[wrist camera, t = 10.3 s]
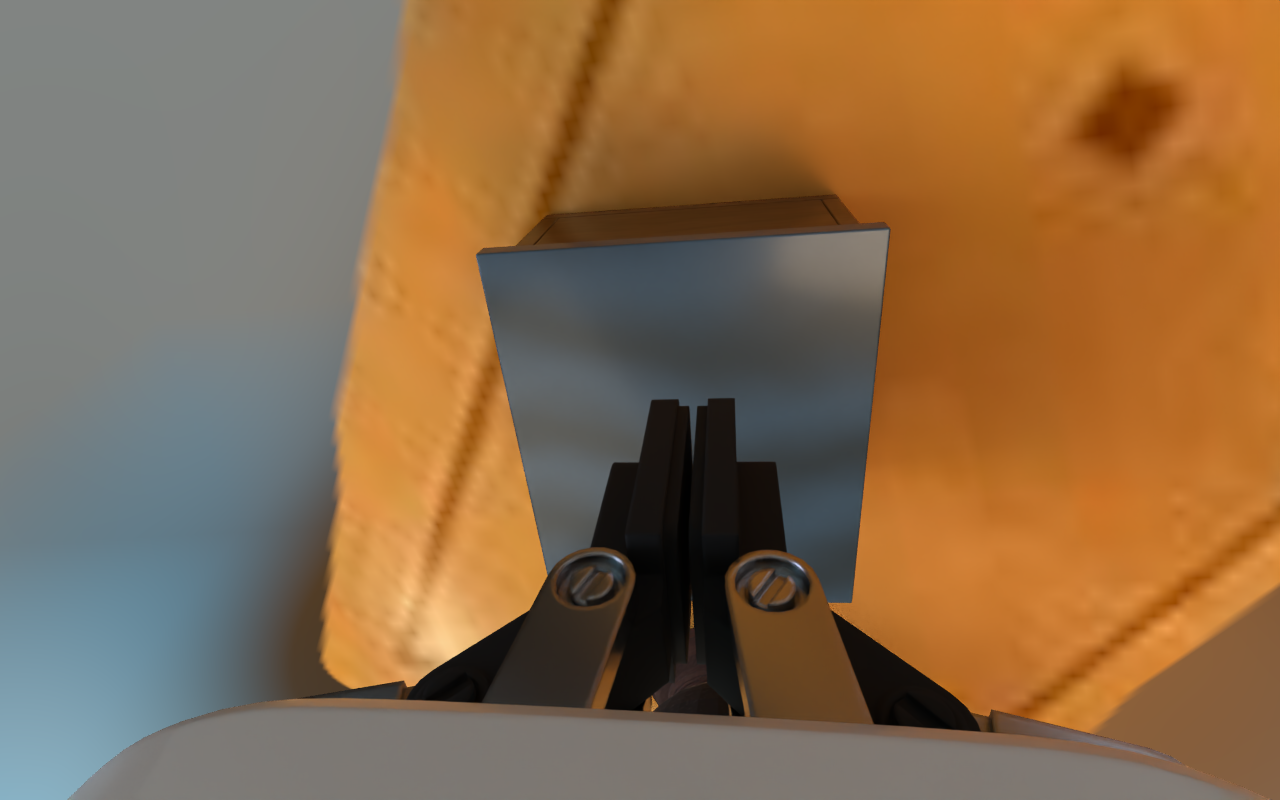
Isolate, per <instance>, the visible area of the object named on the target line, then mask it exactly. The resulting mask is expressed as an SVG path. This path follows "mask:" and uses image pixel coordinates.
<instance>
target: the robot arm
mask: <svg viewBox="0 0 1280 800" xmlns="http://www.w3.org/2000/svg"><path fill="white" fill-rule="evenodd" d="M691 599H692V602H693V616H694V631H695V645H696V660H697V664H703V665H706V671H707V684H708V685H709V686H710V687H712V688H713V689H714V690H715V691H716V692H717V693H718V694H719V695H720V696H721V697H722V698H723V699H724V700H725V701H726V702H727V703H728V704H729V716H719V715H701V714H683V713H664V712H651V705H652V697H651V696H652V695H653V694H654V693H655V692H657V691H658V690H659V689H661V688H662V687H663V686H664V685H666V684H667V683H675V677H676V664H677V663H679V664H687V663H688V651H689V634H690V616H691ZM68 800H1271V799H1269V798H1266V797H1264V796H1262V795H1260V794H1257V793H1255V792H1253V791H1251V790H1249V789H1246V788H1244V787H1242V786H1239V785H1236V784H1234V783H1231V782H1228V781H1226V780H1223V779H1220V778H1217V777H1214V776H1212V775H1209V774H1206V773H1204V772H1201V771H1198V770H1196V769H1193V768H1190V767H1187V766H1185V765H1184V764H1182V763H1181V762H1179V761H1177V760H1176V759H1174V758H1173V757H1171V756H1169V755H1166V754H1163V753H1160V752H1158V751H1155V750H1153V749H1150V748H1147V747H1143V746H1139V745H1135V744H1131V743H1126V742H1123V741H1119V740H1115V739H1110V738H1106V737H1102V736H1098V735H1094V734H1090V733H1086V732H1082V731H1078V730H1074V729H1069V728H1065V727H1061V726H1057V725H1053V724H1049V723H1045V722H1041V721H1037V720H1033V719H1028V718H1024V717H1020V716H1016V715H1012V714H1008V713H1004V712H1000V711H996V710H992V709H991V712H990V715H989V717H987V716H983V715H979V714H975V713H971V712H970V711H969V710H968V708H967V707H966V706H965V705H964V704H962V703H961V702H960V701H959V700H958V699H957V698H956V697H954V696H953V695H952V694H951V693H949V692H948V691H946V690H945V689H944V688H942V687H941V686H939V685H938V684H936V683H935V682H934V681H932V680H931V679H929V678H928V677H926V676H925V675H923V674H922V673H921V672H919V671H918V670H916V669H915V668H913V667H912V666H911V665H909V664H908V663H906V662H905V661H903V660H902V659H901V658H899V657H898V656H896V655H895V654H893V653H892V652H890V651H889V650H888V649H886V648H885V647H883V646H882V645H880V644H879V643H878V642H876V641H875V640H873V639H872V638H870V637H869V636H867V635H866V634H865V633H863V632H862V631H860V630H859V629H857V628H856V627H855V626H853V625H852V624H850V623H849V622H847V621H846V620H844V619H843V618H842V617H840V616H839V615H837V614H836V613H834V612H833V611H832V610H830V607H829V604H828V602H827V599H826V596H825V594H824V591H823V588H822V586H821V583H820V581H819V578H818V577H817V575H816V573H815V572H814V570H813V568H812V567H810V566H809V565H808V564H807V563H806V562H805V561H804V560H802V559H800V558H798V557H796V556H794V555H792V554H790V553H787V548H786V540H785V532H784V523H783V515H782V507H781V499H780V491H779V482H778V474H777V466H776V462H737V455H736V421H735V398H708V405H707V406H697V416H696V430H695V444H694V458H693V457H692V440H691V423H690V409H689V406H680V404H679V399H657V400H651V404H650V409H649V414H648V419H647V424H646V429H645V434H644V439H643V444H642V449H641V454H640V459H639V462H614V463H613V464H612V467H611V470H610V474H609V478H608V481H607V485H606V489H605V493H604V497H603V501H602V504H601V508H600V512H599V516H598V520H597V524H596V527H595V531H594V535H593V539H592V543H591V547H590V548H586V549H582V550H578V551H576V552H573V553H571V554H569V555H567V556H565V557H564V558H563V559H561V560H560V561H559V562H558V563H556V565H555V566H554V567H553V569H552V570H551V571H550V573H549V574H548V576H547V578H546V580H545V582H544V584H543V586H542V588H541V590H540V592H539V594H538V595H537V597H536V599H535V601H534V603H533V605H532V607H531V609H530V610H529V611H527V612H526V613H524V614H523V615H521V616H519V617H518V618H516V619H515V620H513V621H511V622H510V623H508V624H507V625H505V626H503V627H502V628H500V629H498V630H497V631H495V632H494V633H492V634H490V635H489V636H487V637H486V638H484V639H482V640H481V641H479V642H478V643H476V644H474V645H473V646H471V647H469V648H468V649H466V650H465V651H463V652H461V653H460V654H458V655H457V656H455V657H453V658H452V659H450V660H448V661H447V662H445V663H444V664H442V665H440V666H439V667H437V668H436V669H434V670H433V671H431V672H430V673H429V674H427V675H426V676H425V677H424V678H422V679H421V680H420V681H419V682H418V683H417V684H416V686H413V687H407V686H406V684H405V682H404V681H399V682H393V683H387V684H381V685H375V686H369V687H363V688H357V689H351V690H345V691H339V692H333V693H328V694H322V695H315V696H310V697H304V698H298V699H291V700H280V701H267V702H259V703H253V704H248V705H243V706H238V707H233V708H228V709H222V710H218V711H216V712H212V713H208V714H205V715H202V716H198V717H195V718H191V719H188V720H185V721H182V722H179V723H177V724H174V725H172V726H169V727H167V728H164V729H162V730H160V731H158V732H155V733H153V734H151V735H149V736H147V737H145V738H143V739H141V740H139V741H138V742H136V743H134V744H133V745H131V746H129V747H128V748H126V749H125V750H123V751H122V752H120V753H119V754H118V755H117V756H115V757H114V758H113V759H111V760H110V761H109V762H108V763H106V764H105V765H104V766H103V767H102V768H100V769H99V770H98V771H97V772H96V773H95V774H94V775H93V776H92V777H91V778H89V779H88V780H87V781H86V782H85V783H84V784H83V785H82V786H81V787H80V788H79V789H78V790H77V791H76V792H75V793H74V794H73V795H72V796H71V797H70V798H69V799H68Z"/></svg>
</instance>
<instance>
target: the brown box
mask: <svg viewBox="0 0 1280 800" xmlns="http://www.w3.org/2000/svg"><path fill="white" fill-rule="evenodd" d="M847 224H860V223H859V222H858V221H857V220H856V219H855V217H854V216H853V215H852V214H851V212H850V211H849V210H848V209H847V208H846V206H845V205H844V204H843V203H842V202H841V200H840V199H839V197H838V196H837V195H822V196H808V197H794V198H780V199H766V200H752V201H738V202H724V203H710V204H696V205H682V206H668V207H654V208H640V209H626V210H612V211H598V212H585V213H571V214H557V215H547V216H545V217H544V218H543V219H542V220H541V221H540V222H539V223H538V224H537V225H536V226H535V227H534V228H533V229H532V230H531V231H530V232H529V233H528V234H527V235H526V236H525V237H524V238H523V239H522V240H521V241H520V242H519V243H518V244H517V245H516V246H524V245H540V244H555V243H570V242H586V241H601V240H617V239H632V238H647V237H663V236H678V235H693V234H709V233H724V232H739V231H755V230H770V229H785V228H801V227H816V226H832V225H847Z"/></svg>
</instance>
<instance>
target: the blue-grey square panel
mask: <svg viewBox="0 0 1280 800" xmlns="http://www.w3.org/2000/svg"><path fill="white" fill-rule="evenodd" d="M889 238H890V227H889V226H888V225H887V224H886V223H884V222H878V223H862V224H847V225H832V226H816V227H801V228H785V229H770V230H755V231H739V232H724V233H709V234H693V235H678V236H663V237H647V238H632V239H617V240H601V241H586V242H570V243H555V244H540V245H524V246H509V247H494V248H483V249H482V250H481V251H479V252H478V253H477V254H476V258H477V262H478V266H479V271H480V275H481V280H482V284H483V289H484V293H485V298H486V302H487V307H488V311H489V316H490V320H491V324H492V329H493V333H494V338H495V342H496V347H497V351H498V356H499V360H500V365H501V369H502V374H503V378H504V382H505V387H506V391H507V396H508V400H509V405H510V409H511V414H512V418H513V423H514V427H515V431H516V436H517V440H518V445H519V449H520V454H521V458H522V463H523V467H524V472H525V476H526V481H527V485H528V489H529V494H530V498H531V503H532V507H533V512H534V516H535V521H536V525H537V530H538V534H539V539H540V543H541V547H542V552H543V556H544V561H545V565H546V570H547V574H549V573H550V571H551V570H552V569H553V567H554V566H555V565H556V563H558V562H559V561H560V560H561V559H563V558H564V557H565V556H567V555H569V554H571V553H573V552H576V551H578V550H582V549H586V548H590V547H591V543H592V539H593V535H594V531H595V527H596V524H597V520H598V516H599V512H600V508H601V504H602V501H603V497H604V493H605V489H606V485H607V481H608V478H609V474H610V470H611V467H612V464H613V463H614V462H639V459H640V454H641V449H642V444H643V439H644V434H645V429H646V424H647V419H648V414H649V409H650V404H651V400H657V399H679V404H680V406H689V409H690V423H691V440H692V457H693V458H694V444H695V430H696V416H697V406H707V405H708V398H735V421H736V455H737V462H776V466H777V474H778V482H779V491H780V499H781V507H782V515H783V523H784V532H785V540H786V548H787V553H790V554H792V555H794V556H796V557H798V558H800V559H802V560H804V561H805V562H806V563H807V564H808V565H809V566H810V567H812V568H813V570H814V572H815V573H816V575H817V577H818V578H819V581H820V583H821V586H822V588H823V591H824V594H825V596H826V599H827V602H828V603H851V602H852V596H853V586H854V577H855V567H856V557H857V548H858V538H859V528H860V519H861V509H862V499H863V490H864V480H865V470H866V461H867V451H868V441H869V432H870V422H871V412H872V403H873V393H874V383H875V374H876V364H877V354H878V345H879V335H880V325H881V316H882V306H883V296H884V287H885V277H886V267H887V258H888V248H889ZM691 601H692V599H691Z"/></svg>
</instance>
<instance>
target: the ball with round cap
mask: <svg viewBox="0 0 1280 800" xmlns="http://www.w3.org/2000/svg"><path fill="white" fill-rule="evenodd" d="M652 696H653V698H654V699H655V701H656V702H657V704H658V705H659V706H658V707H657V708H656V709H655V710H654V711H653V712H664V713H683V714H701V715H719V716H729V704H728V703H727V702H726V701H725V700H724V699H723V698H722V697H721V696H720V695H719V694H718V693H717V692H716V691H715V690H714V689H713V688H712V687H710V686H709V685H708V684H707V671H706V665H703V664H697V660H696V645H695V631H694V628H693V629H690V634H689V651H688V663H687V664H679V663H677V664H676V677H675V683H667V684H666V685H664V686H663V687H662V688H661V689H659V690H658V691H657V692H655V693H654V694H653V695H652Z"/></svg>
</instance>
